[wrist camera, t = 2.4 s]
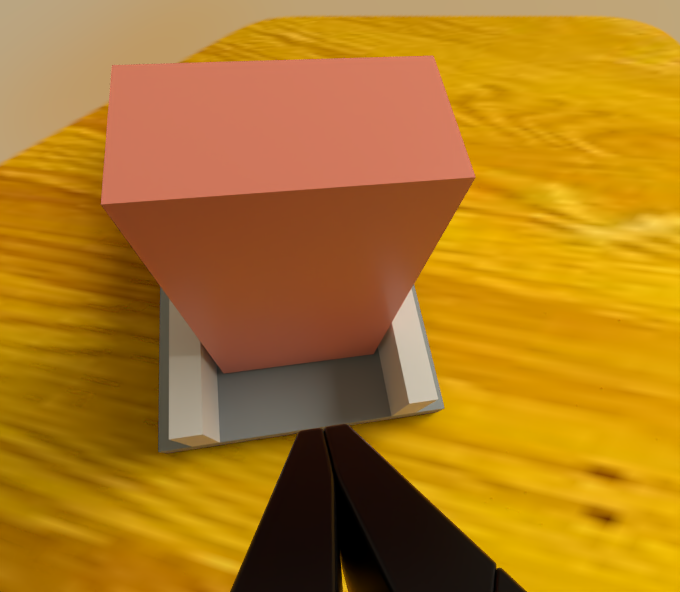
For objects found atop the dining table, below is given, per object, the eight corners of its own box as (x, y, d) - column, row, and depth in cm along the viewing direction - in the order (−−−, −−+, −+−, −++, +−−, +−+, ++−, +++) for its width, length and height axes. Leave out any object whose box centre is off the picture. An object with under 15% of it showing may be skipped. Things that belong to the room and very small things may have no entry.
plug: (373, 354, 17) (475, 177, 7) (223, 373, 16) (100, 204, 6) (360, 287, 18) (433, 55, 8) (220, 302, 18) (111, 65, 7)
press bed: (437, 411, 18) (474, 392, 14) (166, 453, 16) (124, 445, 12) (368, 126, 24) (381, 59, 20) (167, 137, 22) (140, 66, 19)
